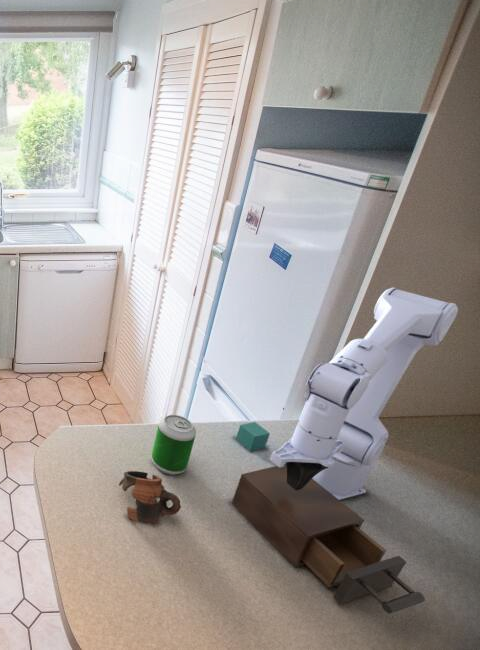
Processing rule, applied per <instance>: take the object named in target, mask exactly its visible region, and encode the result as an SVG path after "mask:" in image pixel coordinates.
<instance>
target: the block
mask: <svg viewBox="0 0 480 650" xmlns="http://www.w3.org/2000/svg"><path fill="white" fill-rule="evenodd" d="M270 434H271V433H270V432H269V431H268V430H266V429H265V428H263V427H262V426H261V425H260V424H259V423H257V422H256V421H251V422H247V423H243V424H242V423H241V424H239V427H238V430H237V433H236V436H235V440H236V441H238V442H239V443H240V444H241V445H242V446H243V447H245V448H246V449H247V450H248V451H249V452H252V451H256V450H260V449H265V448H266V445H267V443H268V440H269V437H270Z"/></svg>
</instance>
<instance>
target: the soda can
mask: <svg viewBox="0 0 480 650" xmlns="http://www.w3.org/2000/svg"><path fill="white" fill-rule="evenodd" d="M196 435H197V429H196V427H195V426H194V424H193V423H192V421H191V420H189V419H188V418H186V417H185V416H181V415H180V414H179V415H178V414H168V415H166V416H163V417H162V418H160V419H159V421H158V425H157V429H156V434H155V438H154V443H153V447H152V450H151V451H152V452H151V461H152V463H153V465H154V466H155V467H156V468H157V469H158V471H160V472H162V473H164V474H168V475H171V476H173V475H179V474H182V473H184V472H186V470H187V468H188V465H189V461H190V457H191V453H192V450H193V447H194V442H195V440H196Z"/></svg>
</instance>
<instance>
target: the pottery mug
mask: <svg viewBox="0 0 480 650" xmlns="http://www.w3.org/2000/svg"><path fill="white" fill-rule="evenodd" d="M123 474H124V475H123V478H122V479H121V480H120V482H119V483H118V486H119V487H120V486H121V485H122V487H121V489H122V490H123V491H124V492H127V491H128V489H129V488H131V487H133V488H132V491H131V496H132V497H133V498H134V499H135V505H136V508H134V507H131V506H127V508H126V512H127V518H128V519H130V520H131V521H135V522H138V523H139V522H140V523H143V524H157V523H158V520H159V518H160V517H161V518H162V517H165V516H174V515H177V513H179V512H180V510H181V508H182V506H181V500H180V498H179V497H178V496H177V495H176V494H174V493H172V492H169V491H167V490H166V489H165V487H164V485H163V484H162V482H163V478H162V477H161V476H159V475H156V474H152V478H150V477H148V475H149V474H148V472H145V471H137V470H127V471H124V472H123ZM157 499H159V500H157ZM168 501H171V503H172V505H171V506H170V507H169V506H168V504H167V502H168Z"/></svg>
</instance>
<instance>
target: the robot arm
mask: <svg viewBox="0 0 480 650" xmlns="http://www.w3.org/2000/svg"><path fill="white" fill-rule="evenodd" d="M458 312H459V307H458V306H457V304H456V303H454V302H446V301H443V300H439V299H436V298H431V297H428V296H425V295H424V296H423V295H422V294H421V295H420V294H416V293H413V292H409V291H405V290H402V289H398V288H397V287H389V288H388V289H387V288H386V289H385V290H384V291H383V293H381V294H380V296H379V298H378V299H377V301H376V304H375V305H374V308H373V314H374V317H373V319H374V320H375V323H374V324H373V326H372V327H371V328H370V329H369V331H367V333H366V334H365V336H364V337H363V338H355V339H352V340H351V341H349V342H348V343H347V344H346V345H345V346H344V347H343V348H342V349H341V350H340V351H339V352H338V353H337V354H336V355H335V356H334V357H333V358H332V359H330V361H329V362H327V363H326V362H325V364H324V363H322V362H321V363H318V364H317V365H316V366H315V367H314V369H313V370H312V371H311V373H310V374H309V376H308V379H307V380H306V384H305V393H304V396H303V399H304V401H305V403H304V406H303V408H302V411H301V414H300V416H299V417H298V418H299V419H298V422H297V423H296V426H295V428H294V431H293V434H292V437H290V438H289V439H288V440H287V441H286V442H285V443H284V444H282V446H281V447H280V448H278V449H276V450H274V451H272V452H271V455H270V458H269V460H270V462H271V463H273V464H274V466H278V467H279V468H280V467H283V466H284V464H286V467H287V484H289V485H290V486H291V487H292V488H293V489H295V490H300V489H302V488H303V487H304V486H305V485H306V484H307V483H308V482H309V481H310V480H311V479H313V480H315V481H316V482H317V483H318V484H320V485H321V486H322V487H323V488H325V489H326V490H327V491H329V492H330V493H331V494H332V495H334V496H335V497H336V498H337V499H339V500H340V501H341V500H345V499H348V498H352V497H356V496H359V495H362V494H366V493H367V490H366V489H365V488H364V485H365V483H366V480H367V479H368V476H369V475H370V472H371V471H372V469H373V464H375V462H376V461H377V460H378V459H379V457H380V456H381V454H382V453H383V451H384V449H385V447H386V443H387V441H388V439H389V435H390V434H389V431H388V430H387V428H386V427H385V425H384V424H383V423H382V421H381V420H380V418H379V417H380V415H381V413H382V412H383V410H384V409H385V407H386V405H387V403H388V402H389V400H390V398H391V396H392V395H393V393H394V391H395V390H396V388H397V386H398V385H399V383H400V381H401V379H402V377H403V376H404V375H405V372H406V371H407V369H408V367H409V366H410V364H411V363H412V361H413V359H414V357H415V355H416V354H417V353H418V352H419V350H420V349H422V348H423V347H424V346H438V345H439V343H440V342H442V340H443V339H444V338H445V336H446V334H447V333H448V331H449V329H450V327H451V326H452V324H453V322H454V321H455V319H456V317H457V315H458Z"/></svg>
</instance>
